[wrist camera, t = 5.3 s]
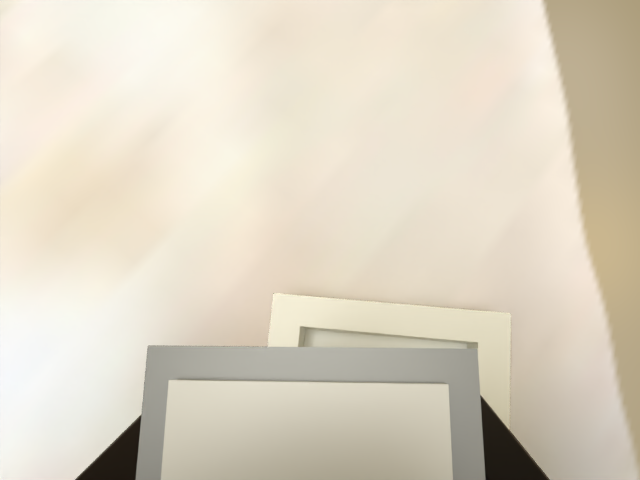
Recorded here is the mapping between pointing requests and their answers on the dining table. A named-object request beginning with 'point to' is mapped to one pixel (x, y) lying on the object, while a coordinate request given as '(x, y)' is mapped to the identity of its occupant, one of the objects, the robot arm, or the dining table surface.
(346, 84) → the dining table surface
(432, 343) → the tray
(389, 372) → the grey tall block
